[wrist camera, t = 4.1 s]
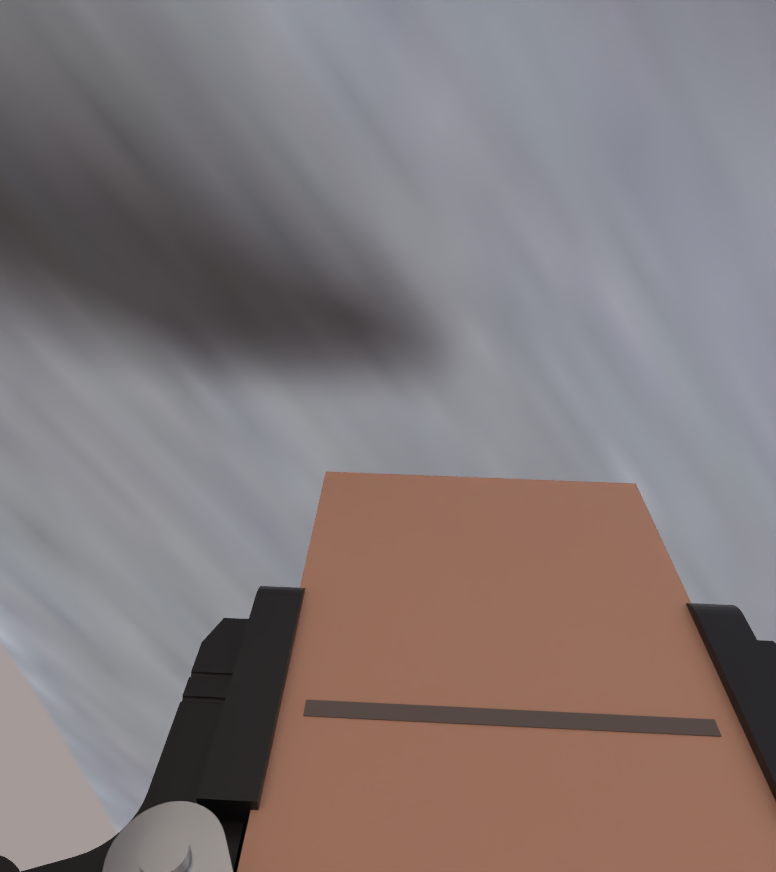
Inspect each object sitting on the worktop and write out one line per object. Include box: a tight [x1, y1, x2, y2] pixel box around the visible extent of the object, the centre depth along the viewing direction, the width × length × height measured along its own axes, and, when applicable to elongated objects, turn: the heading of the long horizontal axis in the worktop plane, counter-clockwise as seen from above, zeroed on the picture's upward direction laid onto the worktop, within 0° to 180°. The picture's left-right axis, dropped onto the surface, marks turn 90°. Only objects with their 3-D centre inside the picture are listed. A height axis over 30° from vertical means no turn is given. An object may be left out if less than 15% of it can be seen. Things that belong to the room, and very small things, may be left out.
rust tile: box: [237, 472, 776, 872], centre depth 9 cm, size 2×6×11 cm, turn 89°
